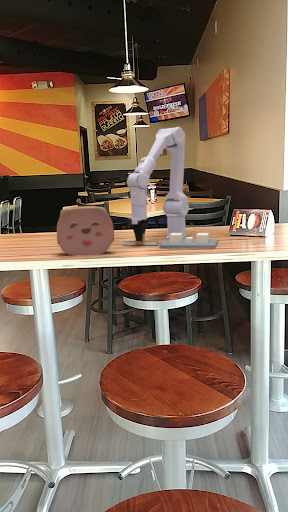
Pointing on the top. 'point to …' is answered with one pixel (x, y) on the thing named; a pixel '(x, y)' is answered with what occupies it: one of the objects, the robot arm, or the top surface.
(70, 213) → the face sculpture
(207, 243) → the display stand
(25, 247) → the top surface
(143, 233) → the brown and white bar
